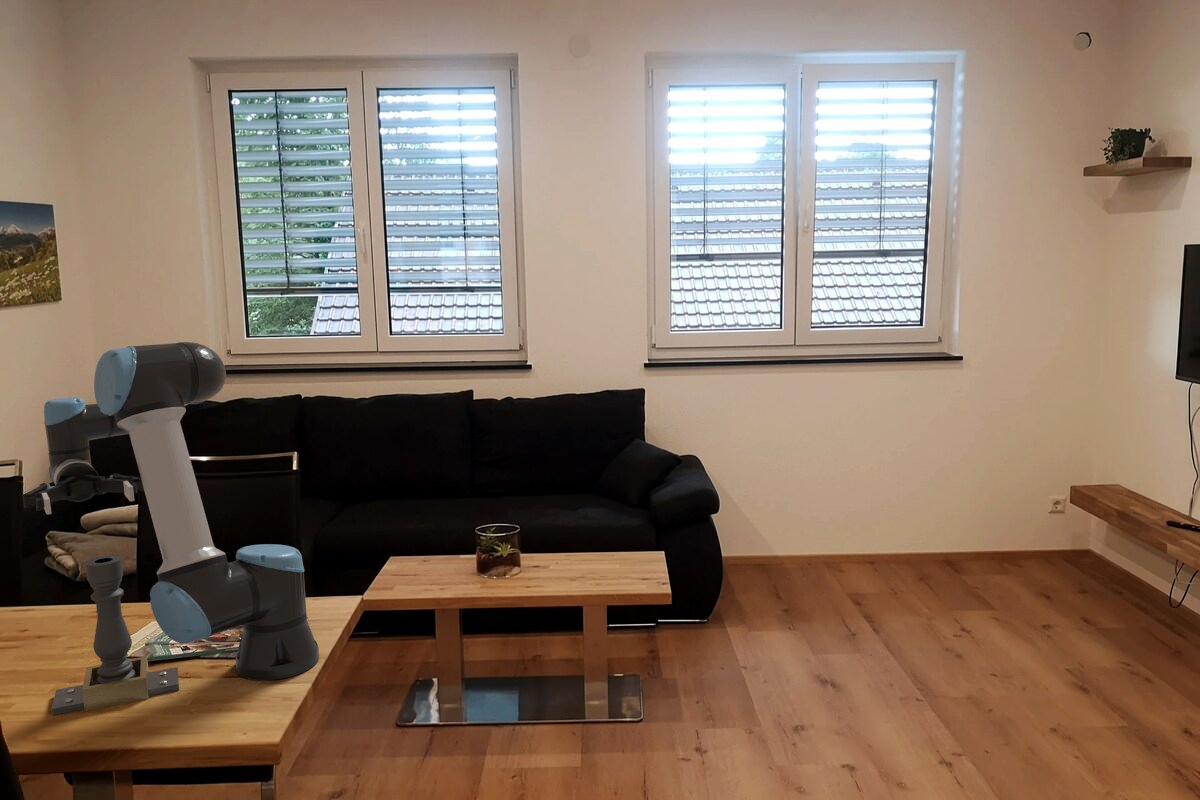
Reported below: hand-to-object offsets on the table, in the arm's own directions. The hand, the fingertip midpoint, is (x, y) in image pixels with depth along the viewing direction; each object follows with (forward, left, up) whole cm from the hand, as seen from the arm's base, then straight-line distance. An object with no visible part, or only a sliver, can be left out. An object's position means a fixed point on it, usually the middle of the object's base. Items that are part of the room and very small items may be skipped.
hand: (90, 500), depth 170 cm
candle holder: (-8, +6, -34) cm, 35 cm away
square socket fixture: (-8, +6, -34) cm, 35 cm away
